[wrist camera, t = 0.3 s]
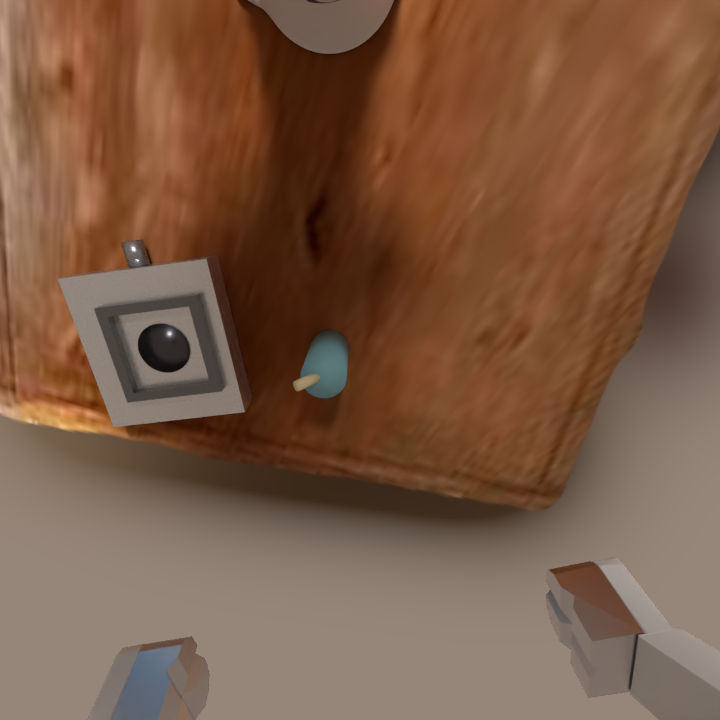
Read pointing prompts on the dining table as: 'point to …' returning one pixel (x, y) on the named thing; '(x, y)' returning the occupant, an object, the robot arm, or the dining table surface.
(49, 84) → the dining table surface
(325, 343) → the spout can
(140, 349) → the ball socket block
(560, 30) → the dining table surface
